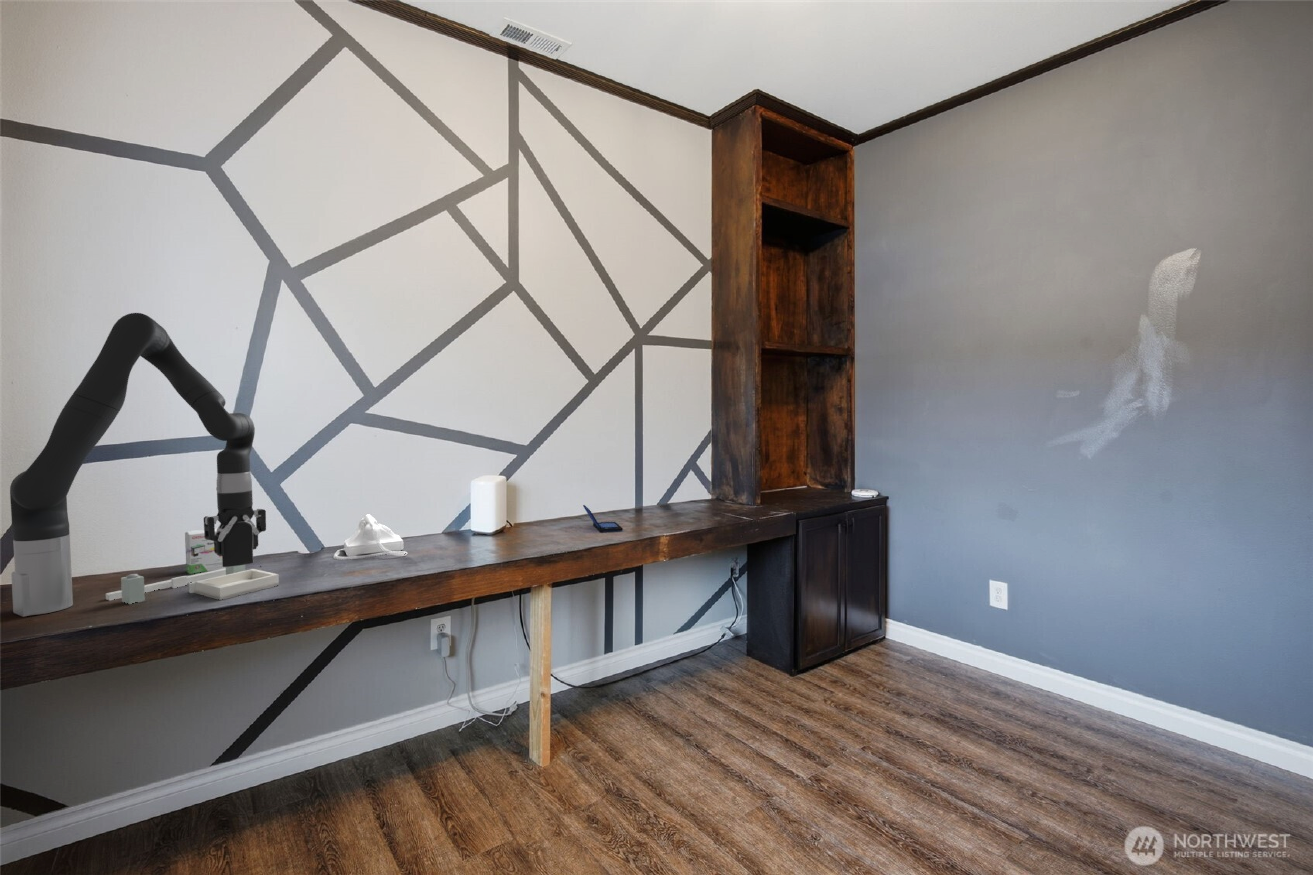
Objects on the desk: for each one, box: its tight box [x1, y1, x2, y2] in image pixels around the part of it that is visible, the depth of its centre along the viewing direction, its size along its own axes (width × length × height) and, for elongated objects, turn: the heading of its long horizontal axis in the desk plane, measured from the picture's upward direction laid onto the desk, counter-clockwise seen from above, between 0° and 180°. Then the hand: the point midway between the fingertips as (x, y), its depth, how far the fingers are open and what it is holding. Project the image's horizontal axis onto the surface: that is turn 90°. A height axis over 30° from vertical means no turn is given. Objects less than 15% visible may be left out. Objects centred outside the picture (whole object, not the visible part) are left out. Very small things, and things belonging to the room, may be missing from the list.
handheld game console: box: [582, 504, 624, 533], centre depth 235 cm, size 16×13×9 cm
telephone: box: [333, 513, 409, 561], centre depth 195 cm, size 25×21×12 cm
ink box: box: [184, 527, 226, 575], centre depth 174 cm, size 8×5×12 cm, turn 138°
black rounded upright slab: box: [220, 521, 254, 568], centre depth 156 cm, size 7×4×11 cm, turn 126°
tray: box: [194, 568, 280, 601], centre depth 156 cm, size 14×12×3 cm
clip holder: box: [105, 565, 246, 605], centre depth 157 cm, size 28×13×7 cm, turn 152°
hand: (237, 552), depth 156 cm, fingers closed on black rounded upright slab, 7 cm apart
